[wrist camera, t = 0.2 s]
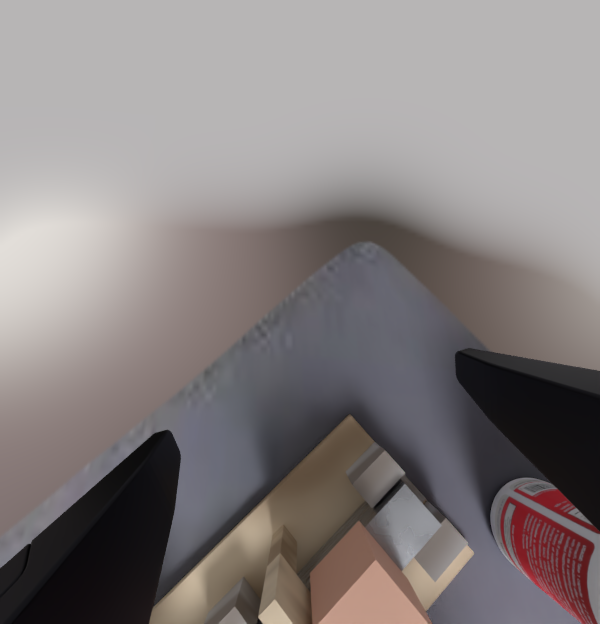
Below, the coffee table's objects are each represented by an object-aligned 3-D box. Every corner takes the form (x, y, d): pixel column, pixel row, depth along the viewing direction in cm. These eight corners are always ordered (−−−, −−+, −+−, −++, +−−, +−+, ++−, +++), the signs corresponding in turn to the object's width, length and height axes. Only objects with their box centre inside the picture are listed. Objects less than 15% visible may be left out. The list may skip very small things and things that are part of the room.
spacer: (407, 578, 17) (440, 637, 13) (358, 636, 16) (376, 716, 12) (359, 520, 18) (375, 559, 14) (309, 573, 17) (312, 629, 13)
